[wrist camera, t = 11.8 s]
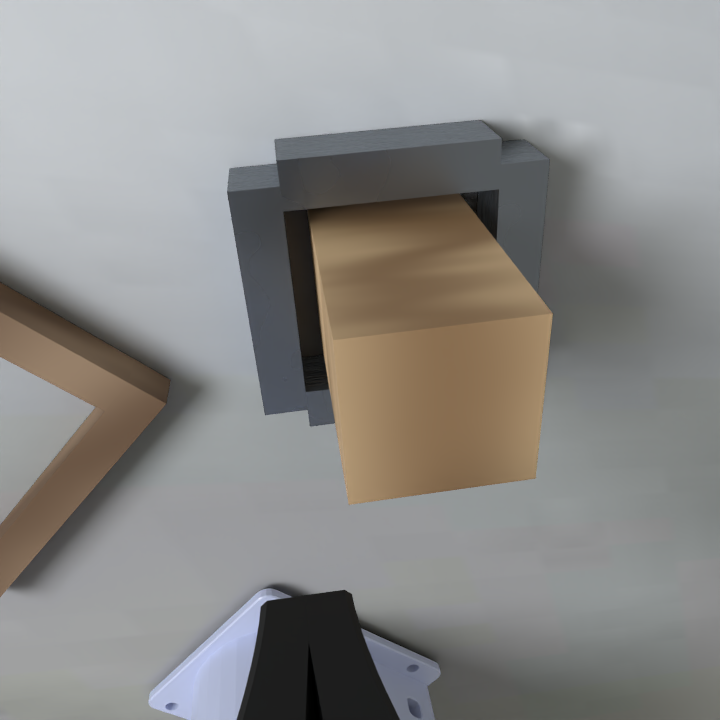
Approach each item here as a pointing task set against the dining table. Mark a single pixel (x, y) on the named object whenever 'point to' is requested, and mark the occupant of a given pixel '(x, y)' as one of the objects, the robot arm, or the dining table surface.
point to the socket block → (365, 185)
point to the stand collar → (93, 438)
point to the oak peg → (427, 348)
